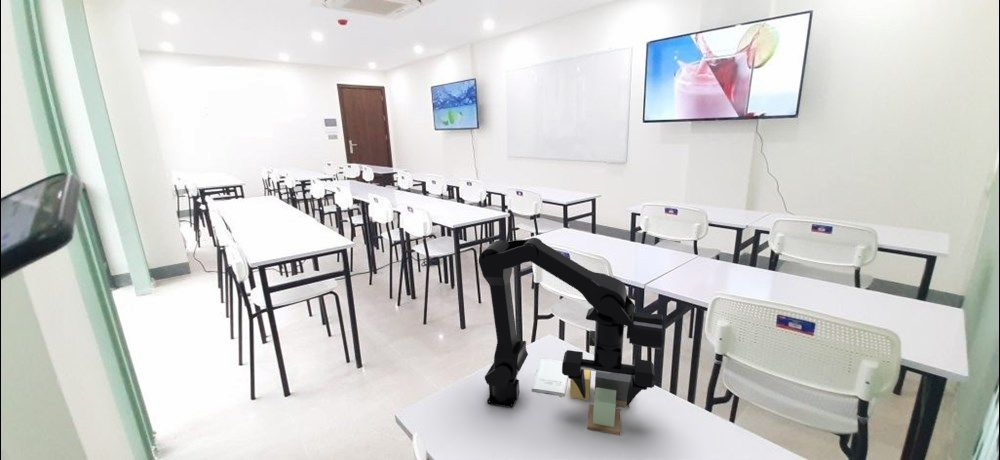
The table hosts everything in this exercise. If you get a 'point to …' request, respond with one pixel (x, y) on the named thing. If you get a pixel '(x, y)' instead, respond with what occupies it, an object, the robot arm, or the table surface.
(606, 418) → the green part
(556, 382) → the external hard drive
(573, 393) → the ochre part
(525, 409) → the table surface
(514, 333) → the robot arm
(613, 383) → the block
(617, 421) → the walnut pad
